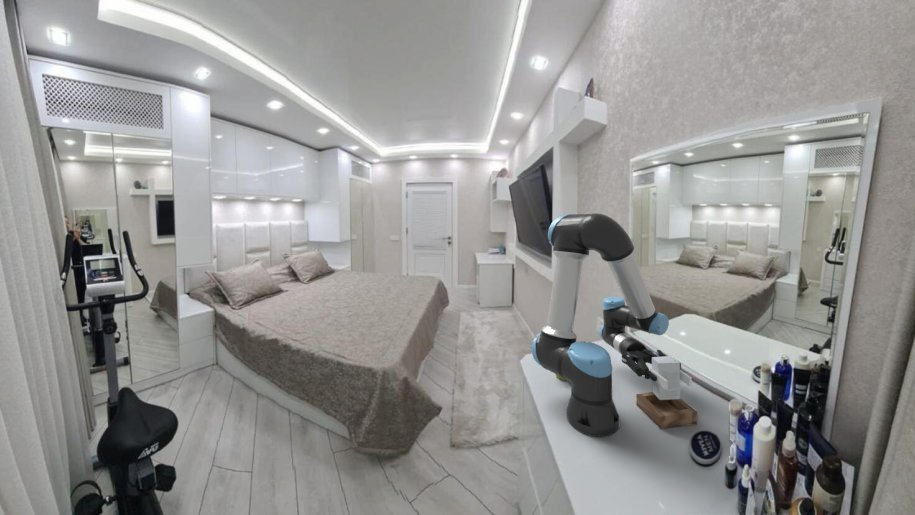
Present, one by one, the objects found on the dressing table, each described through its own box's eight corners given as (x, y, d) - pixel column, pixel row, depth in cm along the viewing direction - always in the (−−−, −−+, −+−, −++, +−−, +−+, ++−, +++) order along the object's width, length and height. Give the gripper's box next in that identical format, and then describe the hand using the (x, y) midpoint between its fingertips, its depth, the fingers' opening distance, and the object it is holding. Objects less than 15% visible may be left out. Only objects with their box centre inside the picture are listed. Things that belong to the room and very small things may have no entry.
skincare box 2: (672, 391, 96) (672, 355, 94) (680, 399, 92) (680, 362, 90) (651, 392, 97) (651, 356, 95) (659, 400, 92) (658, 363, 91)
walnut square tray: (660, 428, 89) (660, 416, 89) (636, 405, 100) (636, 394, 100) (696, 424, 90) (697, 411, 89) (669, 401, 101) (669, 389, 100)
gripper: (655, 353, 112) (710, 390, 89) (603, 361, 111) (645, 399, 88) (655, 334, 111) (711, 366, 88) (603, 341, 110) (645, 375, 87)
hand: (678, 383), depth 88 cm, fingers closed on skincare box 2, 6 cm apart
